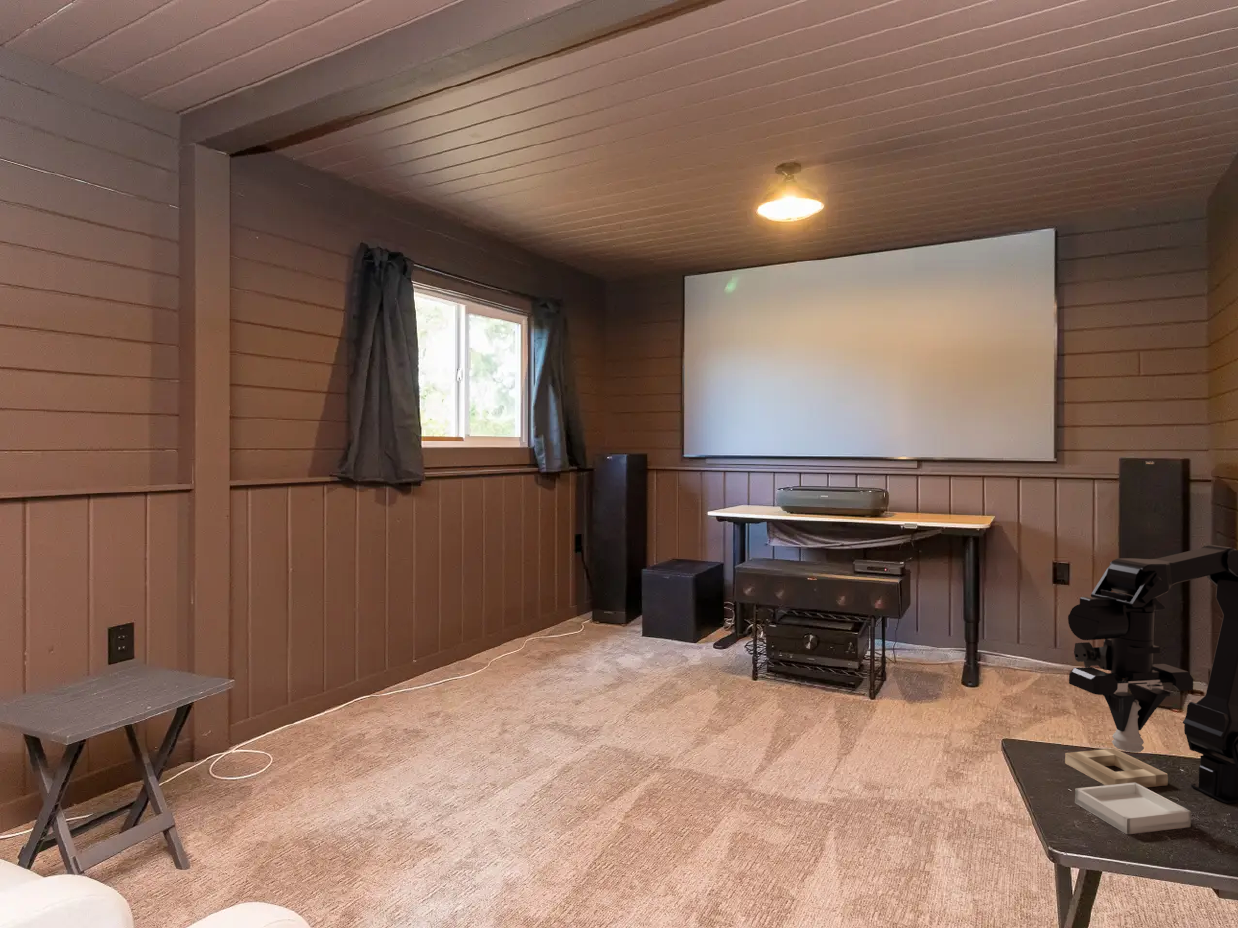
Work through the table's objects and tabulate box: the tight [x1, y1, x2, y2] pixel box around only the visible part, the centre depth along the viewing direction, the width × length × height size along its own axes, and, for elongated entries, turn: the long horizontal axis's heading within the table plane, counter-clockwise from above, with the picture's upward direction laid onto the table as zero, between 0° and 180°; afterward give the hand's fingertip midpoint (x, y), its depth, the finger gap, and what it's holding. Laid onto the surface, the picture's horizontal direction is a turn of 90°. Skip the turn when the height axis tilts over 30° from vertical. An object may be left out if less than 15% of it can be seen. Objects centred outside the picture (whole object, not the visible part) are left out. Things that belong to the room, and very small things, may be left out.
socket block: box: [1064, 747, 1169, 788], centre depth 135 cm, size 11×11×2 cm
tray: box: [1074, 782, 1192, 835], centre depth 120 cm, size 12×10×2 cm
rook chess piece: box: [1111, 700, 1145, 753], centre depth 122 cm, size 4×4×8 cm
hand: (1128, 729), depth 122 cm, fingers closed on rook chess piece, 3 cm apart
